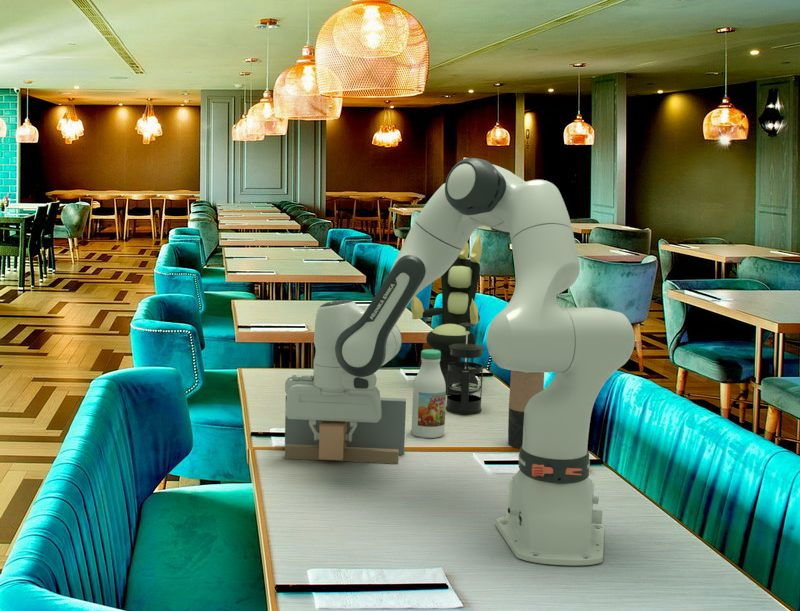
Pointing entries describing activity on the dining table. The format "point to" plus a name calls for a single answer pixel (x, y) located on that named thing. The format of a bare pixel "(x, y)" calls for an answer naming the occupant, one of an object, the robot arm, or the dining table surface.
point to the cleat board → (355, 437)
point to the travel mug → (521, 402)
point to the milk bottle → (429, 397)
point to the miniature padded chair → (454, 310)
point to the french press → (465, 378)
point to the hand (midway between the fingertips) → (333, 440)
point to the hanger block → (332, 440)
